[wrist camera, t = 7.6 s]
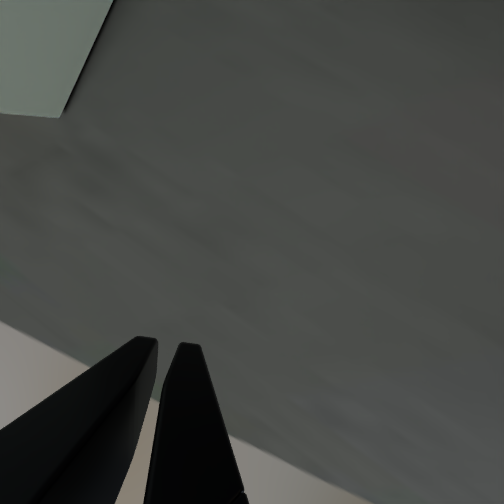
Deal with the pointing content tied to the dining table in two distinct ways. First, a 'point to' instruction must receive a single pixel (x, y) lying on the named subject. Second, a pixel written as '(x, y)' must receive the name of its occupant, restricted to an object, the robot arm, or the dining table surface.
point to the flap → (44, 51)
